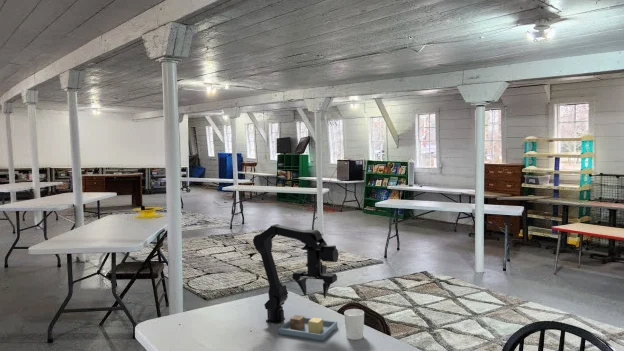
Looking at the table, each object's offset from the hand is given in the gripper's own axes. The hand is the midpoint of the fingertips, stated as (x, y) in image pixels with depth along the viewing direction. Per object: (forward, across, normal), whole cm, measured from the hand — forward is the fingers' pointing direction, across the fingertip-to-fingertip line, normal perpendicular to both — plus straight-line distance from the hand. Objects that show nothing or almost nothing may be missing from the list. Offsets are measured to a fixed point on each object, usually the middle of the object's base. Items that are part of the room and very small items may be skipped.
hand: (315, 296), depth 198 cm
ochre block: (+12, -2, +6) cm, 14 cm away
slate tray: (+13, +1, +6) cm, 14 cm away
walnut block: (+12, +6, +6) cm, 15 cm away
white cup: (+13, -19, +4) cm, 23 cm away
